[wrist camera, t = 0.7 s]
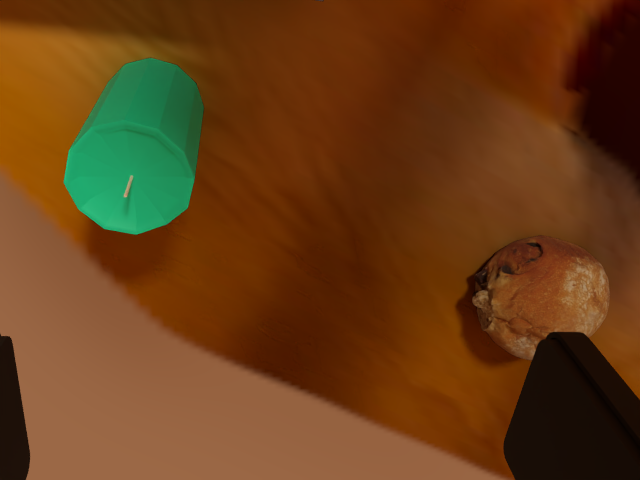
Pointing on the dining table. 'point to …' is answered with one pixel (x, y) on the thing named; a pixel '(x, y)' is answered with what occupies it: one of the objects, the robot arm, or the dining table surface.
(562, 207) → the dining table surface
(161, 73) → the candle
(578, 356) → the robot arm
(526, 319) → the bread roll
